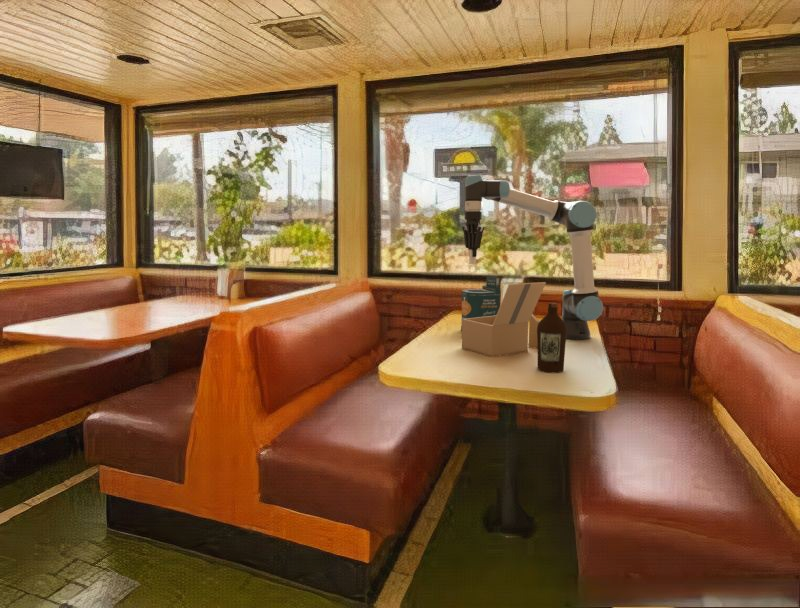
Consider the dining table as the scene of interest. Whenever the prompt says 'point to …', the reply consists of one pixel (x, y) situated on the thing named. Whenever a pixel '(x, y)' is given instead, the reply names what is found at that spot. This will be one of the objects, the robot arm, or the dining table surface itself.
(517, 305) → the lid flap
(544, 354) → the olive oil
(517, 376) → the dining table surface
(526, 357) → the dining table surface
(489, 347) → the carton
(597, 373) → the dining table surface
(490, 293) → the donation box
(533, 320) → the sandwich container
